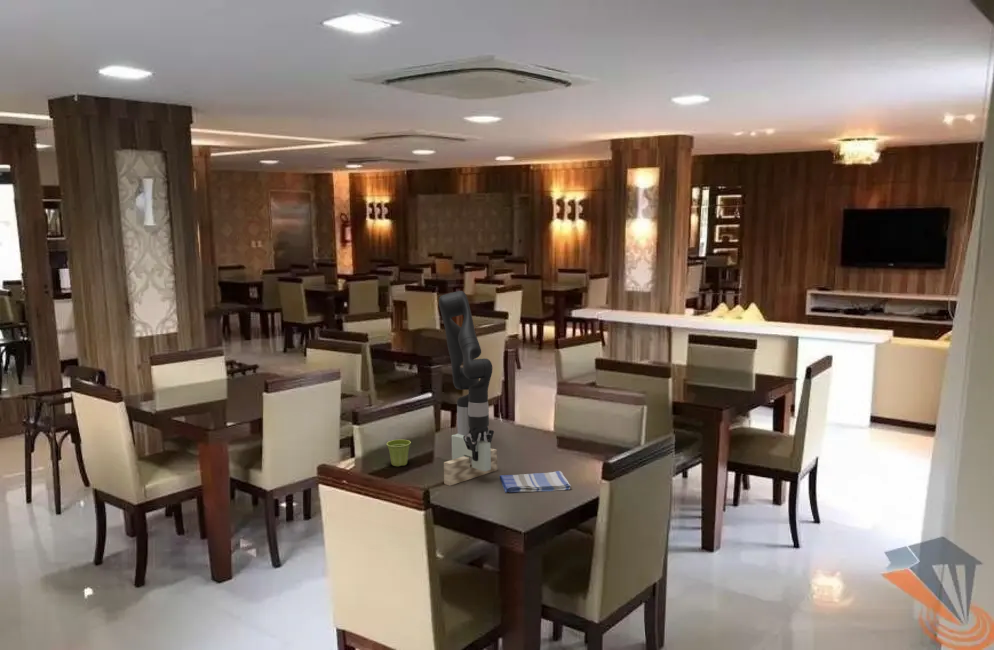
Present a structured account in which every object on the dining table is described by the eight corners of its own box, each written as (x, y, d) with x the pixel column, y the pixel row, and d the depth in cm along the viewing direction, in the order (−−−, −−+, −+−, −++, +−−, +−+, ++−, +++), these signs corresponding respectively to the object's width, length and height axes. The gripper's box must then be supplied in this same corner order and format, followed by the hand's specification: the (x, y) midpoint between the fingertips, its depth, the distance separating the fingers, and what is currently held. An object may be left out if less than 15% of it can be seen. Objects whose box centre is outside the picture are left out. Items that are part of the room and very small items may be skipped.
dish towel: (572, 491, 255) (572, 484, 255) (505, 495, 253) (505, 487, 252) (561, 475, 272) (561, 468, 272) (499, 479, 270) (499, 471, 269)
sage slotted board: (457, 459, 278) (457, 433, 276) (490, 469, 265) (490, 442, 264) (451, 461, 276) (451, 435, 274) (484, 471, 263) (484, 444, 262)
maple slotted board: (491, 468, 280) (491, 448, 279) (497, 470, 278) (496, 449, 277) (444, 483, 263) (443, 462, 263) (449, 485, 261) (449, 464, 260)
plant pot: (404, 468, 281) (404, 447, 280) (383, 466, 284) (382, 445, 283) (415, 461, 290) (414, 440, 289) (394, 459, 293) (393, 438, 292)
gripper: (485, 408, 272) (485, 453, 274) (457, 415, 262) (457, 461, 264) (499, 411, 267) (500, 457, 269) (471, 418, 257) (472, 466, 259)
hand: (479, 459), depth 267 cm, fingers closed on sage slotted board, 3 cm apart
